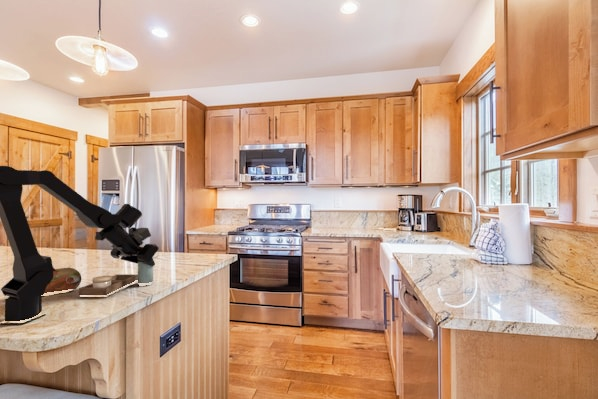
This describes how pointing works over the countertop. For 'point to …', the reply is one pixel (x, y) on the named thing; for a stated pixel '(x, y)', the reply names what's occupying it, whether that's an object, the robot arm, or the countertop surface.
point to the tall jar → (145, 272)
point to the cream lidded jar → (102, 281)
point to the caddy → (116, 283)
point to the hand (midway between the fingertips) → (149, 264)
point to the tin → (64, 280)
